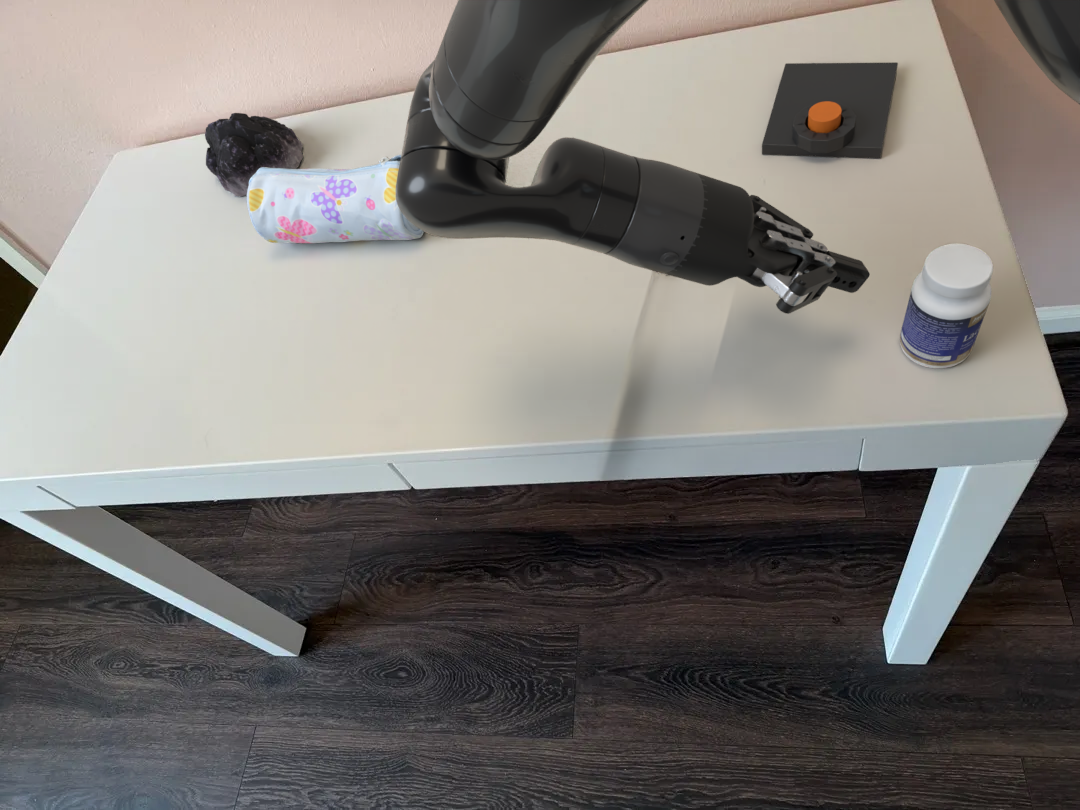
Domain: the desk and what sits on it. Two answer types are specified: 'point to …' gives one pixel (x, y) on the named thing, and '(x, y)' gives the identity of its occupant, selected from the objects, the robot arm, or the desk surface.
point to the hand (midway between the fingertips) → (859, 277)
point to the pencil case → (328, 204)
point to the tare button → (824, 117)
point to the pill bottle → (947, 306)
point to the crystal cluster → (249, 149)
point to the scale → (846, 84)
